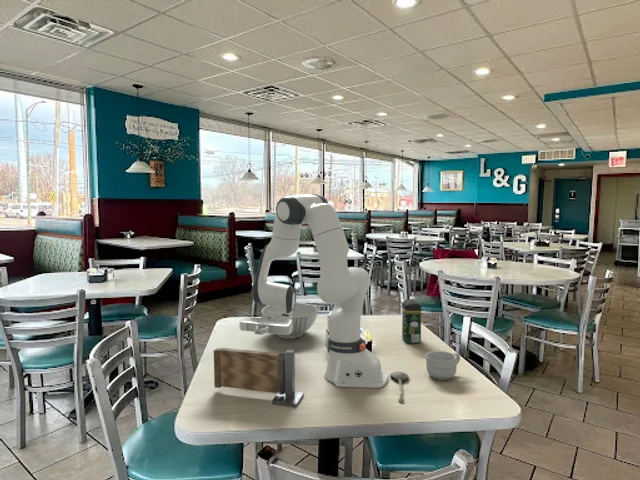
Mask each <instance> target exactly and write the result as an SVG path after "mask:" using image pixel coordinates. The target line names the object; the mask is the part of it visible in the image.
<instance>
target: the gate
mask: <svg viewBox="0 0 640 480" xmlns="http://www.w3.org/2000/svg"><path fill="white" fill-rule="evenodd" d="M213 376H214V377H213V379H214V380H213V381H214V388H216V389H220V388H222V387H223V388H231V389H240V390H246V391H256V392H263V393H264V392H266V393H272V394H273V393H274V394H278V392H279V394H285V352H283V351H282V352H272V351H271V352H270V351H259V350H249V349H237V348H229V347H219V348H214V350H213Z"/></svg>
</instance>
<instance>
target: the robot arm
mask: <svg viewBox="0 0 640 480" xmlns="http://www.w3.org/2000/svg"><path fill="white" fill-rule="evenodd" d="M275 211H276V214H275V217H274V221H273V225H272V226H273V227H272V234H271V235H272V236H271V240H270V242H269V243H268V244H266V245H265V246H264V247H263V249H262V251H261V254H260V257H259V263H258V266H257V270H256V275H255V278H254V281H253V285H252V288H251V290H250V291H251V292H250V297H251V299H252V301H253V302H254V303H255V304H256V305H267V306H269V305H270V306H273V308H272V309H270V310H269V311H267V312H266V313H264V314H263V315H262V314H261V317H255V316H250V317H245V318H244V319H241V320H240V321H239V330H240V331H242V332H243V331H244V332H251V333H252V332H253V333H254V334H255V335H259V336H263V335H264V334H272V335H277V334H279V335H289V334H291V332H292V328H293V319H292V314H293V309H294V307H295V303H297V293H296V291H295V289H294V287H293V286H292V285H288V284H284V283H278V282H272V281H269V280H268V276H269V270H270V268H271V267H270V266H271V264H272V262H273V261H275V260H276V261H277V260H280V259H286V258H289V257H291V256H293V255H294V254H295V253H296V252H297V251H298V250H299V246H300V239H301V228H302V225H305V224H306V225H308V227H309V228H310V232H311V234H312V237H313V241H314V244H315V247H316V250H317V254H318V257H319V263H320V264H319V267H320V273H319V274H320V275H319V280H318V282H317V285H316V291H317V295H318V297H319V299H320V300H321V301H322V302H324V303H325V304H330V305H333V309H332V310H331V311H330V312H331V314H330V318H329V338H328V337H327V353H328V358H327V363H326V364H327V365H326V370H325V372H324V377H325V379H326V380H327V381H329V382H331V383H333V384H334V385H335V386H336V387H337V388H365V389H366V388H367V389H371V388H372V389H379V388H382V387H384V386H385V385H386V384H387V383H388V379H389V377H388V371H386V370H384V369H382V364H381V361H380V359H379V358H378V356H376V355H375V354H374V353H372V352H371V351H370V350H368V349H367V348H366V345H367V341H366V338H364V339H363V338H362V337H361V319H362V311H363V306H364V302H365V299H366V298H365V297H366V295H367V292H368V290H369V288H370V285H371V277H370V274H369V272H367V270H366V269H365V268H363V267H358V266H357V267H356V266H348V265H349V264H348V255H349V251H350V246H349V243H348V241H347V237H346V235H345V232H344V228H343V226H342V223H341V220H340V218H339V216H338V213H337V212H336V210H335V208H334V207H333V206H332V204H330V203H329V202H328V200H327V198H326V197H325V196H323V195H320V194H315V193H313V194H303V193H302V194H300V193H299V194H294V195H287V196H283V197H282V198H280V199H279V200H278V202H277V204H276V206H275Z"/></svg>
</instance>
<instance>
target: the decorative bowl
mask: <svg viewBox="0 0 640 480" xmlns="http://www.w3.org/2000/svg"><path fill="white" fill-rule="evenodd" d="M272 308H273V306H270V305H267V306H264V307H262V308H261V310H260V311H261V316H262V315H263V314H264V313H266V312H267V311H269V310H270V309H272ZM318 314H319V308H318V307H317V306H316V305H313V304H311V303H310V304H308V303H303V302H296V303H295V307H294V309H293V314H292V319H293V328H292V332H291V334H289V335H279V334H276V335H277V337H279V338H282V339H288V338H290V339H296V337H298V338H300V336H301V337H302V336H304V333H305V332H307V331H308V330H309V329H310V328H311V327H313V325H314V323H315V321H316V320H317V317H318Z"/></svg>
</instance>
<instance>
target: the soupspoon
mask: <svg viewBox="0 0 640 480" xmlns="http://www.w3.org/2000/svg"><path fill="white" fill-rule="evenodd" d="M389 376H391V377H392V378H393V379H395V380H397V381H398V386H399V393H400V394H399V399H398V403H405V400H404V397H403V385H402V381H404V380H406V379H408V378H409V374H407V373H405V372H402V371H394V372H393V371H392V373H389Z"/></svg>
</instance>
